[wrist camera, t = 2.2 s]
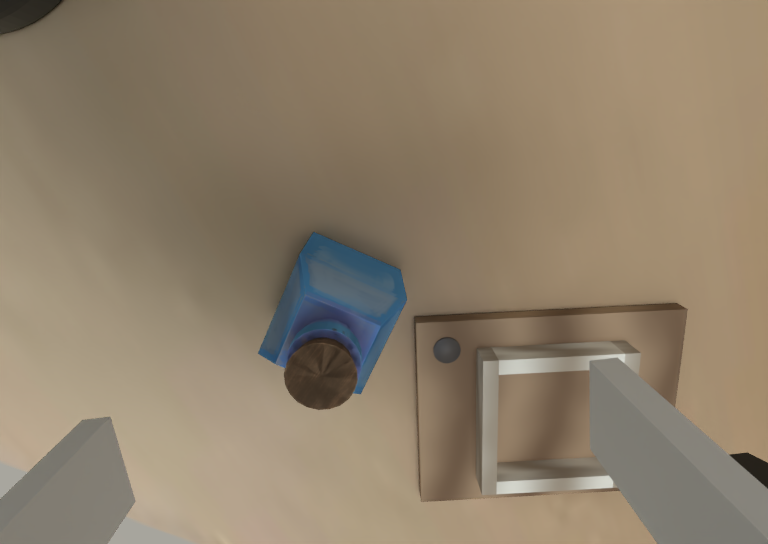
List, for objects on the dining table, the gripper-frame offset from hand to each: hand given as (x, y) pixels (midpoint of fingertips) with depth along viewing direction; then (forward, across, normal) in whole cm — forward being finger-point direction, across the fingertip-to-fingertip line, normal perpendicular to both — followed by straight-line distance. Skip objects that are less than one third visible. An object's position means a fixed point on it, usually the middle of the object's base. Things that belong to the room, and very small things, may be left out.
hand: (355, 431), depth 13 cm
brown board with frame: (+19, +11, -12) cm, 25 cm away
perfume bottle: (+20, -2, -2) cm, 20 cm away
